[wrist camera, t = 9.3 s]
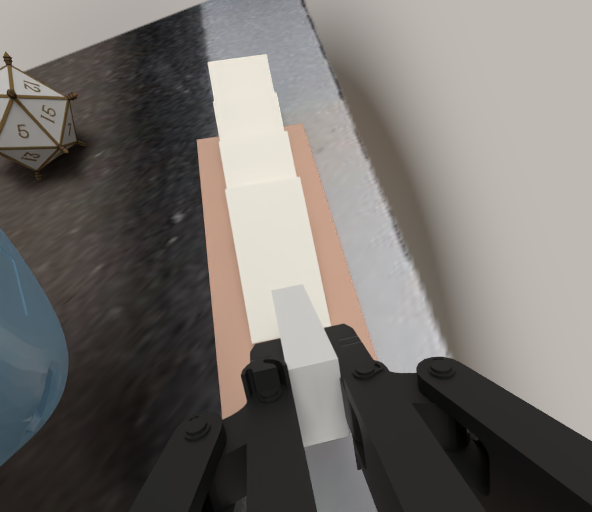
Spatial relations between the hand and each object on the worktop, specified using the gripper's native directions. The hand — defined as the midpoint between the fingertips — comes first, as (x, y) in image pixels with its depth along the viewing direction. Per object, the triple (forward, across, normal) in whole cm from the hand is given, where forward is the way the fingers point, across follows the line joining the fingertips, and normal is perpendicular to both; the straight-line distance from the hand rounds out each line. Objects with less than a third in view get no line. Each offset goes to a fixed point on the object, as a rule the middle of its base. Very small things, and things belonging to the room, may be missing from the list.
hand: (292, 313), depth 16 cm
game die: (+21, -18, +11) cm, 30 cm away
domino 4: (+5, 0, -4) cm, 6 cm away
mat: (+12, 0, +1) cm, 12 cm away
